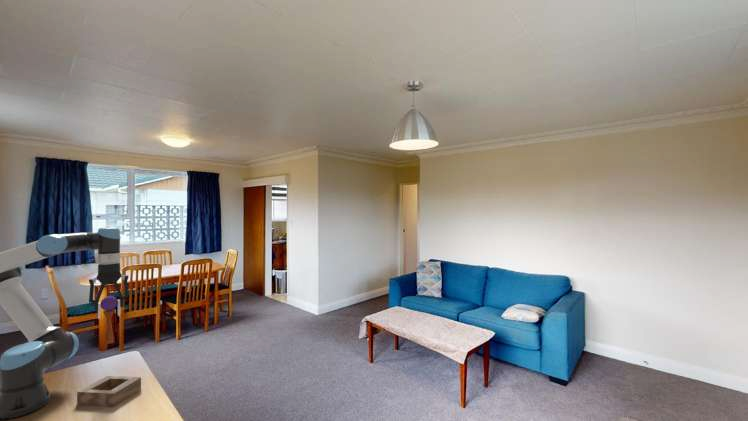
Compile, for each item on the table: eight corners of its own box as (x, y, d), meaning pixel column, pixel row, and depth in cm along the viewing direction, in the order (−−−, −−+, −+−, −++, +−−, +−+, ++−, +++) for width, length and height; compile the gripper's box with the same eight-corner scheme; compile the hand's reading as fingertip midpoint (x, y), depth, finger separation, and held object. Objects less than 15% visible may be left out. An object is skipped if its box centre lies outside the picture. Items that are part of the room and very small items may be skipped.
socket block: (76, 404, 129) (77, 391, 129) (107, 387, 142) (107, 375, 142) (113, 406, 127) (113, 393, 127) (140, 389, 140) (141, 377, 140)
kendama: (106, 346, 138) (106, 298, 138) (96, 344, 140) (96, 297, 140) (121, 340, 144) (121, 295, 144) (111, 339, 146) (111, 294, 146)
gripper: (79, 266, 133) (79, 323, 133) (136, 261, 146) (137, 313, 146) (80, 264, 139) (79, 319, 139) (134, 260, 152) (134, 310, 151)
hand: (109, 316), depth 142 cm, fingers closed on kendama, 6 cm apart
